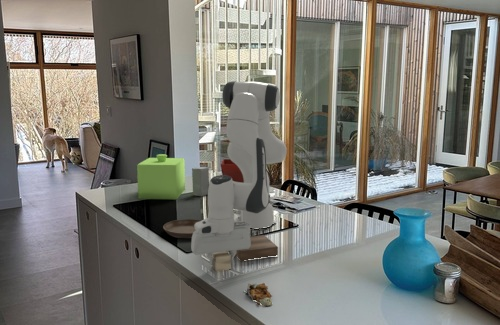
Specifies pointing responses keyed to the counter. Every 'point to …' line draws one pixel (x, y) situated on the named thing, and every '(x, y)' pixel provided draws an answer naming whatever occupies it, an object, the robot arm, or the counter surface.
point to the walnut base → (258, 248)
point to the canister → (161, 177)
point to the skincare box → (200, 181)
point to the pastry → (259, 294)
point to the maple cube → (222, 261)
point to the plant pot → (231, 170)
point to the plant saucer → (181, 228)
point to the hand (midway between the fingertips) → (221, 263)
